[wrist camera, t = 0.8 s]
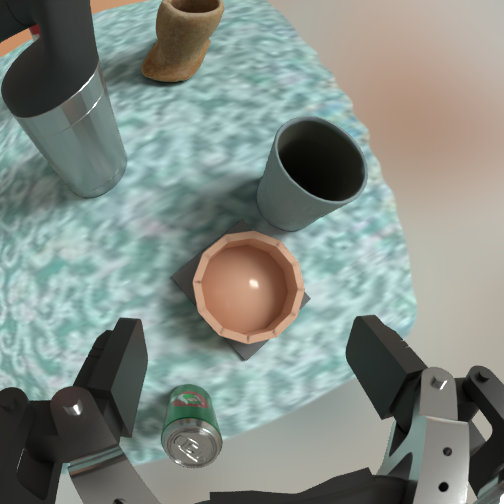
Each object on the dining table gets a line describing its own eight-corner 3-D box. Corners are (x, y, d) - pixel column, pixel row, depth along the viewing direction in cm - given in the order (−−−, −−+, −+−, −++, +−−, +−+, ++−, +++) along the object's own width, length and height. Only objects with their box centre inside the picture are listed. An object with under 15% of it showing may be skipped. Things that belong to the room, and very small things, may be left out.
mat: (171, 277, 31) (171, 276, 31) (241, 220, 34) (242, 219, 34) (245, 360, 31) (246, 360, 30) (309, 298, 34) (310, 298, 34)
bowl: (173, 283, 30) (171, 279, 27) (247, 222, 34) (254, 211, 30) (240, 358, 30) (247, 364, 27) (308, 292, 34) (322, 290, 30)
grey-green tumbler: (325, 235, 36) (378, 204, 25) (253, 239, 34) (285, 204, 23) (311, 168, 38) (353, 121, 27) (243, 166, 36) (267, 110, 24)
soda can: (194, 427, 28) (199, 480, 16) (160, 403, 27) (147, 449, 16) (220, 399, 29) (237, 443, 18) (185, 374, 29) (184, 410, 17)
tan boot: (201, 92, 37) (213, 15, 23) (133, 83, 35) (125, 10, 21) (224, 45, 41) (239, -17, 27) (166, 36, 39) (170, -24, 25)
